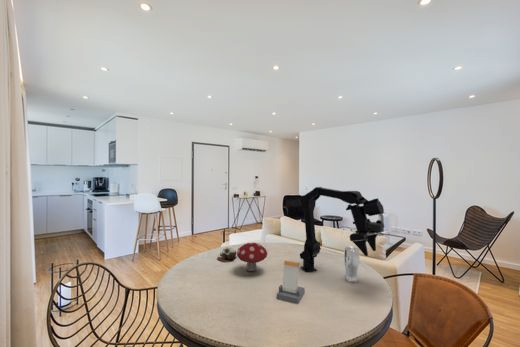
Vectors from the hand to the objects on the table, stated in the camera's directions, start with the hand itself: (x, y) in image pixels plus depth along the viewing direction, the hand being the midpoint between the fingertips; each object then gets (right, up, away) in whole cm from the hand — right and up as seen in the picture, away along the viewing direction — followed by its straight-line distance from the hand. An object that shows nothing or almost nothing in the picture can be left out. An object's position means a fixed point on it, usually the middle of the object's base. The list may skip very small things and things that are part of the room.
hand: (370, 253), depth 106 cm
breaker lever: (-37, -13, -7) cm, 39 cm away
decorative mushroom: (-53, -16, +19) cm, 59 cm away
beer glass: (-5, -16, +10) cm, 20 cm away
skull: (-68, -16, +38) cm, 79 cm away
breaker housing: (-36, -16, -5) cm, 39 cm away
